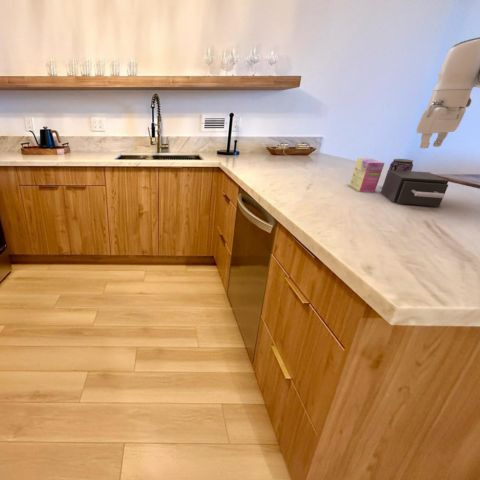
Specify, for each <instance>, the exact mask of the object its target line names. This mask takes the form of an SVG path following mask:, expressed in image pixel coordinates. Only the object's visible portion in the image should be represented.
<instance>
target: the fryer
mask: <svg viewBox="0 0 480 480" xmlns="http://www.w3.org/2000/svg"><path fill="white" fill-rule="evenodd" d="M404 180H409V181H424V182H439V183H442V184H448V183H449V180H448V179H445V178H443V177H441V176H439V175H437V174H434V173H431V172H429V171H415V170H411V171H398V170H389V169H388V170H387V172H386V175H385V178H384V182H383V184H382V188H381V191H380V193H381V194H382V195H383V196H385V198H387V200H390V201H391V203H393V204H399V203H398V202H397V198H398V195H399V192H400V190H401V187H402V184H403V181H404ZM403 204H405V203H403ZM405 205H406V204H405ZM414 205H415V206H416V205H417V204H414ZM417 206H418V205H417ZM425 206H427V207H429V206H428V205H425ZM437 207H438V208H439V206H436V208H437Z"/></svg>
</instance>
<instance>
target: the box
mask: <svg viewBox="0 0 480 480" xmlns="http://www.w3.org/2000/svg"><path fill="white" fill-rule="evenodd" d="M384 166H385V162H382V161H379V160H376V159H374V158H369V157H368V158H367V157H366V158H365V157H363V158H362V157H357V158H356V161H355V165H354V168H353V172H352V175H351V178H350V182H349V185H348V186H349V187H351V188H352V189H354V190H355V191H358V192H360V193H375V192H376V189H377V186H378V184H379V181H380V177H381V176H382V172H383V170H384Z"/></svg>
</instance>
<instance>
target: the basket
mask: <svg viewBox="0 0 480 480" xmlns="http://www.w3.org/2000/svg"><path fill="white" fill-rule="evenodd" d="M448 187H449V184H448V183H447V184H442V183H439V182H424V181H409V180H404V181H403V184H402V187H401V190H400V192H399V195H398V198H397V202H398V203H397V204H404V203H405V205H415V204H417V206H426V205H428V206H427V207H429V206H430V207H437V206H438V207H440V206H441V203H442V201H443V199H444V197H445V194H446V192H447V189H448Z"/></svg>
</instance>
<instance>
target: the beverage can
mask: <svg viewBox="0 0 480 480" xmlns="http://www.w3.org/2000/svg"><path fill="white" fill-rule="evenodd" d="M413 162H414V160H412V159H408V158H407V159H406V158H394V159H393V161H391V162H390V165H389V168H388V170H398V171H413V167H414V164H413Z"/></svg>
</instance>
